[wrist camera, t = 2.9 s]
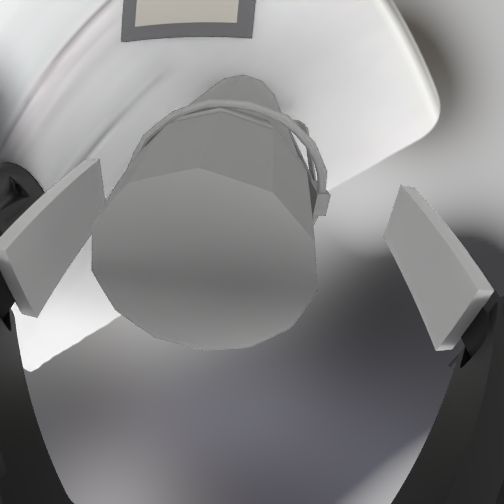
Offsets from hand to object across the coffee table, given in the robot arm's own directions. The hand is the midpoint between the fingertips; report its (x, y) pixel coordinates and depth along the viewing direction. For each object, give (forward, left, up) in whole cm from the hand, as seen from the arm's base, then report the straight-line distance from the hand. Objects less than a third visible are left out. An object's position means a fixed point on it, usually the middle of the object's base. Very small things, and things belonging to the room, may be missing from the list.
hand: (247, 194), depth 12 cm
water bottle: (0, 0, -20) cm, 20 cm away
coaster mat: (-7, +14, -20) cm, 25 cm away
